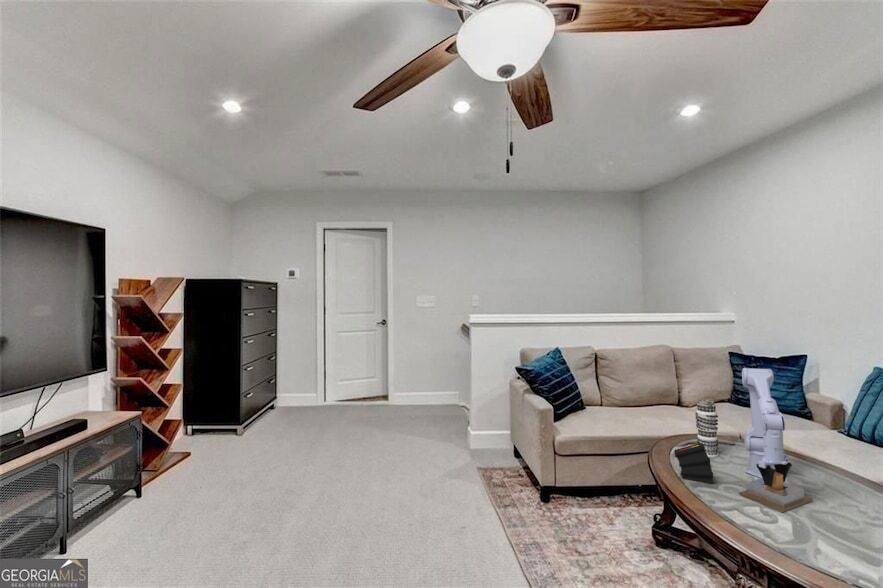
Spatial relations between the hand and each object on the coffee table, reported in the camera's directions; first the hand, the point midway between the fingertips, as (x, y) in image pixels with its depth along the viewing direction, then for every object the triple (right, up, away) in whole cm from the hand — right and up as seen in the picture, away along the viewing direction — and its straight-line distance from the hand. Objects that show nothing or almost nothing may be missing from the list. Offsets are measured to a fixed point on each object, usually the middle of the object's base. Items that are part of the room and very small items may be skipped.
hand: (774, 483), depth 152 cm
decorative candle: (+3, -6, +42) cm, 42 cm away
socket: (0, -5, 0) cm, 5 cm away
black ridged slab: (-20, -6, +17) cm, 27 cm away
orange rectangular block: (0, -4, 0) cm, 4 cm away
